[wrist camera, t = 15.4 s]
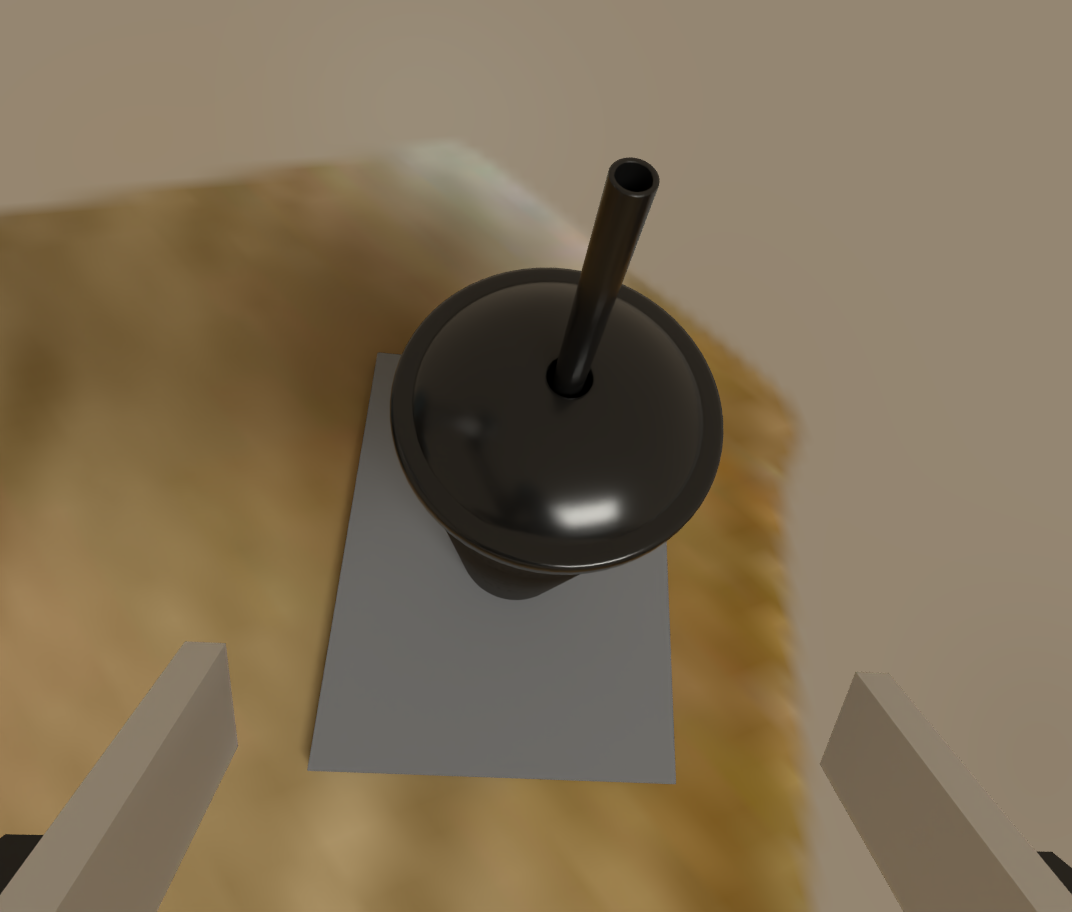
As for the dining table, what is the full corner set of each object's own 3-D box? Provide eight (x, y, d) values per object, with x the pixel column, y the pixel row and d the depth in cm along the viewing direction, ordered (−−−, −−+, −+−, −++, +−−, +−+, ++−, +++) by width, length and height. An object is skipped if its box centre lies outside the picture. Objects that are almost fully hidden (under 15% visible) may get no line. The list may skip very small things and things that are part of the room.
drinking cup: (443, 655, 24) (368, 513, 6) (414, 479, 27) (298, -8, 8) (622, 614, 25) (1029, 391, 7) (577, 451, 28) (789, -22, 10)
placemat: (311, 768, 23) (307, 770, 22) (379, 359, 29) (377, 352, 29) (671, 781, 24) (675, 783, 23) (656, 385, 31) (659, 379, 30)
